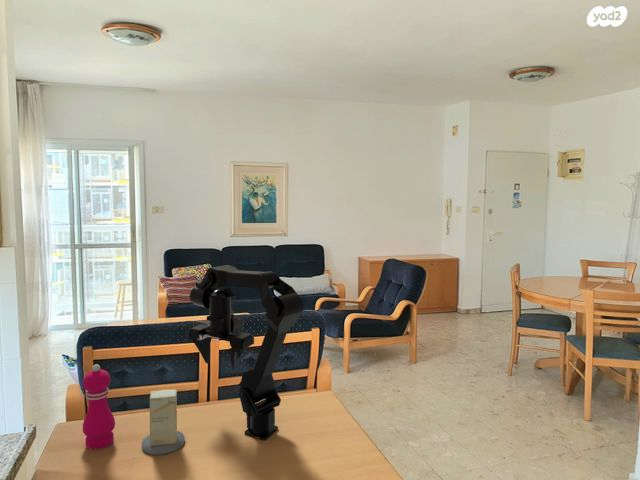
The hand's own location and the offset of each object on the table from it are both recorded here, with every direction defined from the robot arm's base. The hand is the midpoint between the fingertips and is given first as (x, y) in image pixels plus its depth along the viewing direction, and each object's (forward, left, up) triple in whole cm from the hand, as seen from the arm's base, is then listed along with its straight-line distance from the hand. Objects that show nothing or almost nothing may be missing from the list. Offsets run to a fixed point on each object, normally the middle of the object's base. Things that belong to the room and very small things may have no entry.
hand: (220, 366), depth 132 cm
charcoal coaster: (+2, +20, -13) cm, 24 cm away
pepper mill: (+16, +27, -13) cm, 34 cm away
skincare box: (+2, +20, -12) cm, 23 cm away
